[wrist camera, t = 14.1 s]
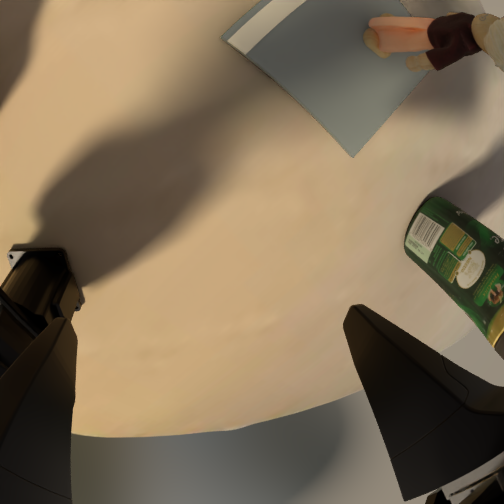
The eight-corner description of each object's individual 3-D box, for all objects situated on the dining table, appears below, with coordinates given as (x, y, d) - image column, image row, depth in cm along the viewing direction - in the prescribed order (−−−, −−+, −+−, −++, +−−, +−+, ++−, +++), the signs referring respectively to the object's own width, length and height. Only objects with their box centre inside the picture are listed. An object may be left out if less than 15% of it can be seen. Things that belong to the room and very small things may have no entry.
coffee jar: (462, 214, 26) (568, 306, 11) (431, 266, 30) (522, 369, 14) (426, 182, 23) (573, 296, 7) (389, 248, 26) (508, 385, 11)
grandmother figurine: (380, -5, 12) (516, -21, 1) (412, 26, 13) (544, 34, 3) (341, 56, 15) (501, 59, 4) (377, 87, 16) (527, 123, 6)
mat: (220, 38, 13) (221, 36, 13) (342, -53, 9) (346, -56, 9) (349, 156, 20) (354, 158, 19) (435, 58, 16) (440, 58, 15)
